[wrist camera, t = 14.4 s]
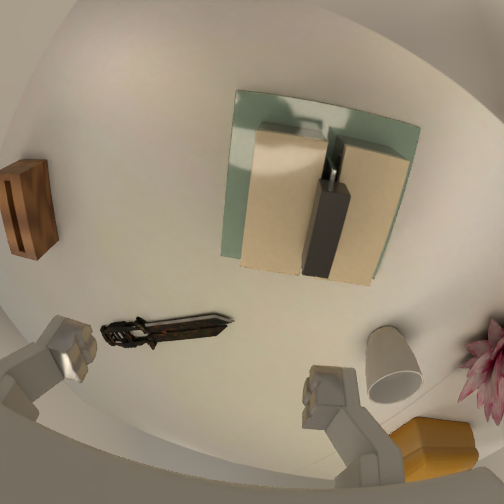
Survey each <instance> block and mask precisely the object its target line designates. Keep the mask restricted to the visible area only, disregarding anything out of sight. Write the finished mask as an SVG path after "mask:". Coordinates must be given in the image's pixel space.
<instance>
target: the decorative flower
mask: <svg viewBox="0 0 504 504" xmlns="http://www.w3.org/2000/svg"><path fill="white" fill-rule="evenodd" d="M488 337H489V341H487V340H480V342H473V343H470V344H467V345H465V347H466V348H467V350H468V351H469V352H471V353H472V354H473V355H474V356H476V357H474V358H472V359H470V360H468V361H467V362H466V363H464V364H463V365H462V366H461V367H460V368H470V370H469V372H468V374H467V377H469V376H470V377H469V379H468V380H467V382H466V384H465V386H464V388H463V390H462V392H461V394H460V396H459V399H458V402H457V403H459V402H460V401H462V400H463V399H464V398H466V397H467V396H468V395H469V394H471V393H472V392H473V391H475V390H476V389H477V388H478V392H477V408H480V407H481V406H482V405H483V403H484V412H485V416H486V420H487V422H488V420H489V416H490V413H491V414H492V417H493V419H494V421H495V423H496V425H497V426H499V424H500V421H501V419H502V416H503V413H504V329H502V328H501V327H500V326H499V324H498V323H497V322H496V321H495V320H493V319H492V320H491V322H490V326H489V331H488Z"/></svg>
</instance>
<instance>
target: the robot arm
mask: <svg viewBox="0 0 504 504" xmlns="http://www.w3.org/2000/svg"><path fill="white" fill-rule="evenodd" d="M92 332H93V331H92V328H91V325H88V324H85V323H82V322H79V321H75V320H72V319H69V318H66V317H63V316H60V315H57V316H55V317H54V318H53V319H52V321H51V322H50V323H49V325H48V326H47V328H46V329H45V330H44V332H43V333H42V335H41V336H40V338H39V339H38V341H37V342H36V343H34V342H33V343H31V344H29V345H27V346H25V347H23V348H21V349H19V350H18V351H16V352H14V353H12V354H10V355H8V356H7V357H5V358H3V359H1V360H0V504H504V483H503V482H502V481H501V480H500V479H499V478H498V477H497V476H496V475H495V474H494V473H493V472H492V471H491V470H489V469H488V468H486V467H478V468H474V469H470V470H466V471H462V472H458V473H454V474H450V475H445V476H441V477H436V478H430V479H425V480H419V481H413V482H406V483H405V474H404V466H403V459H402V452H401V450H400V448H399V447H398V446H397V445H396V444H395V443H394V441H393V440H392V439H391V438H390V437H389V435H388V434H387V433H386V432H385V431H384V430H383V428H382V427H381V426H380V425H379V424H378V422H377V421H376V420H375V419H374V418H373V416H372V415H371V414H370V413H369V412H368V411H367V409H366V408H365V407H361V405H360V398H359V390H358V383H357V376H356V370H355V369H354V368H344V367H334V366H319V365H313V366H312V367H311V369H310V377H308V378H306V381H305V384H304V388H303V398H302V402H303V404H304V405H305V408H304V410H303V412H302V428H304V429H317V430H325V432H326V434H327V436H328V437H329V439H330V440H331V442H332V444H333V445H334V447H335V449H336V450H337V452H338V453H339V455H340V457H341V458H342V460H343V461H344V463H345V465H346V466H347V468H346V469H345V470H344V471H342V472H341V473H340V474H339V475H338V476H337V477H335V488H334V489H306V488H305V489H304V488H282V487H268V486H257V485H247V484H239V483H231V482H225V481H218V480H212V479H207V478H201V477H196V476H191V475H186V474H182V473H177V472H173V471H169V470H165V469H161V468H157V467H153V466H149V465H146V464H142V463H139V462H135V461H132V460H129V459H126V458H123V457H120V456H117V455H113V454H111V453H108V452H105V451H102V450H99V449H97V448H94V447H92V446H89V445H86V444H84V443H81V442H79V441H76V440H74V439H72V438H69V437H67V436H65V435H62V434H60V433H58V432H56V431H54V430H51V429H49V428H47V427H45V426H43V425H41V424H39V423H37V422H36V420H37V418H38V416H39V410H38V409H37V408H36V407H35V405H34V404H33V403H32V402H34V401H35V400H36V399H38V398H39V397H40V396H42V395H43V394H44V393H46V392H47V391H48V390H50V389H51V388H52V387H54V386H55V385H56V384H58V383H59V382H60V381H62V380H63V379H64V377H65V378H67V379H70V380H73V381H76V382H79V383H82V382H83V380H84V378H85V376H86V374H87V372H88V366H87V365H88V364H90V363H92V362H93V360H94V358H95V356H96V352H97V342H96V339H95V338H94V337H93V336H92V335H91V333H92Z"/></svg>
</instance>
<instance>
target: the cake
mask: <svg viewBox="0 0 504 504" xmlns="http://www.w3.org/2000/svg"><path fill="white" fill-rule="evenodd" d="M420 130H421V128H419V127H417V126H414V125H410V124H407V123H404V122H400V121H397V120H394V119H390V118H386V117H383V116H379V115H375V114H371V113H367V112H363V111H359V110H355V109H351V108H347V107H342V106H337V105H333V104H328V103H323V102H318V101H312V100H307V99H301V98H295V97H289V96H282V95H275V94H268V93H260V92H252V91H243V90H236V96H235V105H234V114H233V123H232V133H231V142H230V152H229V163H228V173H227V184H226V195H225V206H224V218H223V230H222V243H221V256H225V257H231V258H237V259H241V261H240V267H245V268H252V269H258V270H264V271H271V272H277V273H284V274H290V275H297V276H299V274H300V270H301V268H302V258H301V257H302V252H303V248H304V244H305V239H306V235H307V230H308V226H309V221H310V217H311V212H312V208H313V203H314V198H315V194H316V189H317V184H318V179H321V177H322V172H323V167H324V162H325V157H326V152H328V154H329V156H330V158H331V160H332V162H333V164H334V166H335V168H336V170H337V171H336V176H335V180H334V181H335V182H340V183H345V184H346V186H347V188H348V190H349V192H350V194H351V199H350V203H349V207H348V211H347V215H346V218H345V222H344V226H343V229H342V233H341V237H340V240H339V244H338V247H337V251H336V254H335V257H334V261H333V264H332V268H331V271H330V274H329V277H328V279H326V278H320V277H314V278H317V279H323V280H330V281H337V282H344V283H351V284H358V285H364V286H369V285H370V282H371V280H372V279H374V278H375V276H376V273H377V270H378V268H379V265H380V262H381V260H382V257H383V254H384V252H385V249H386V246H387V243H388V240H389V237H390V235H391V232H392V229H393V226H394V223H395V220H396V217H397V213H398V210H399V207H400V204H401V201H402V197H403V194H404V191H405V187H406V184H407V180H408V177H409V173H410V170H411V166H412V162H413V158H414V155H415V151H416V147H417V143H418V138H419V134H420Z"/></svg>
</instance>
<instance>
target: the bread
mask: <svg viewBox="0 0 504 504" xmlns="http://www.w3.org/2000/svg"><path fill="white" fill-rule="evenodd" d="M389 437H390V438H391V439H392V440H393V441H394V443H395V444H396V445H397V446H398V447H399V448H400V450H401V452H402V459H403V466H404V474H405V483H406V482H413V481H419V480H425V479H430V478H436V477H441V476H445V475H450V474H454V473H458V472H462V471H466V470H470V469H471V468H473V466H474V465H475V464H476V462H477V461H478V457H479V453H478V451H477V449H476V448H475V440H474V436H473V432H472V429H471V427H470V425H469V424H468V423H465V422H456V421H447V420H439V419H432V418H424V417H415V418H413V419H412V420H410V421H409V422H407V423H406V424H405V425H403V426H402V427H400V428H399V429H397V430H396V431H394V432H393V433H391V434H390V435H389Z"/></svg>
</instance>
